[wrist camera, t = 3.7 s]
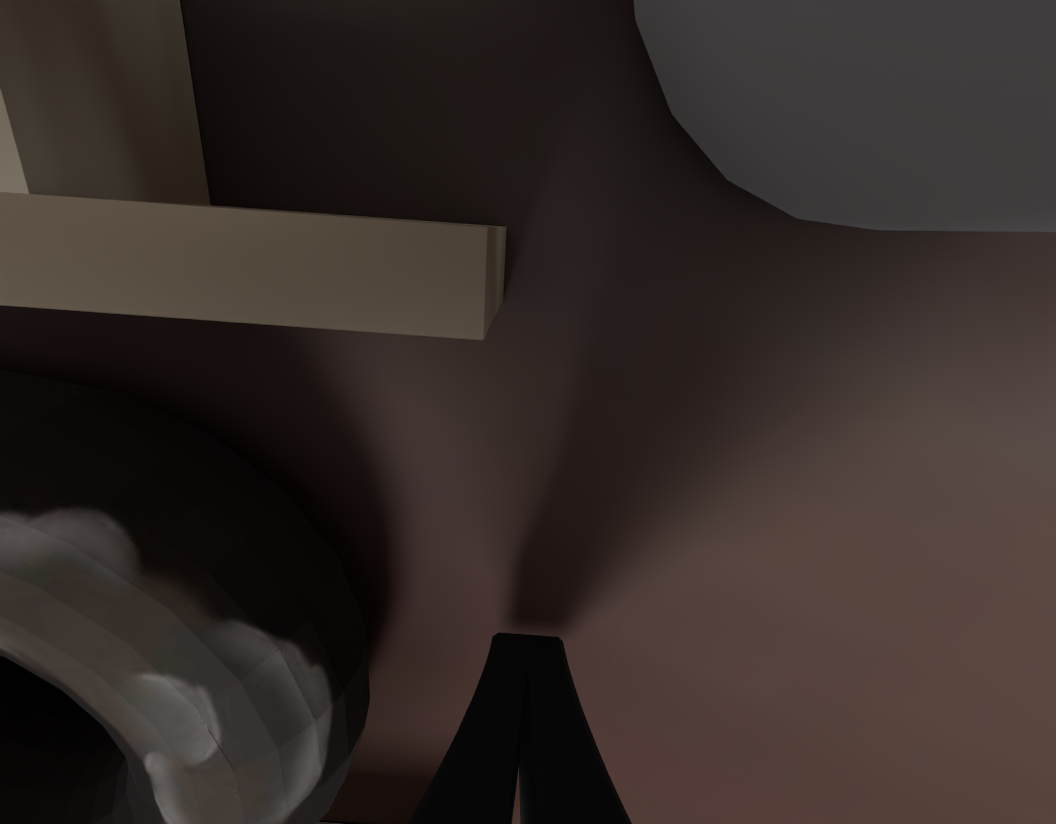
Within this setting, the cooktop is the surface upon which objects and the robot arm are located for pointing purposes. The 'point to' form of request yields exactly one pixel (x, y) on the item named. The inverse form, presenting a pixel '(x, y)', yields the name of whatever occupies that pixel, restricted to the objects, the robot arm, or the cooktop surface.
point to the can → (870, 106)
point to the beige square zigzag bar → (189, 199)
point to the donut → (163, 625)
